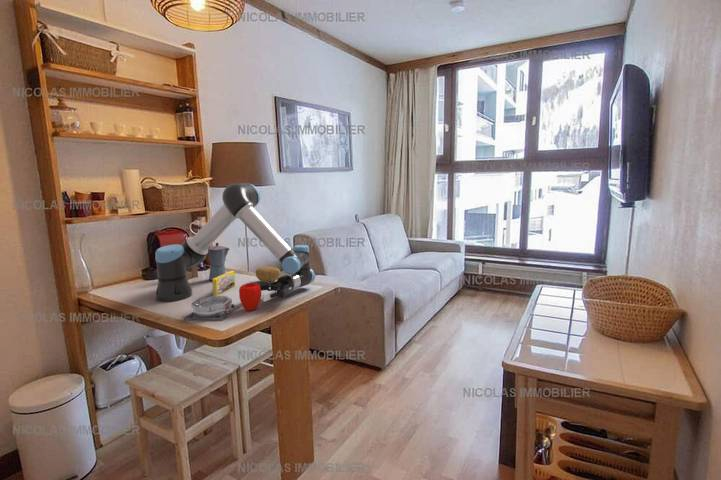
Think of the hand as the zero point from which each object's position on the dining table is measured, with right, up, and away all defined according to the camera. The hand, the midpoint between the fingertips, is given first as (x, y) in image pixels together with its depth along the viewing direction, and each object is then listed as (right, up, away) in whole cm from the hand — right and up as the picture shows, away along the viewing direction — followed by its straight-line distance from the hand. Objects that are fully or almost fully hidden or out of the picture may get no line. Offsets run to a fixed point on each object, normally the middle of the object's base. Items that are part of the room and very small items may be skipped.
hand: (251, 295), depth 151 cm
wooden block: (-51, +1, +53) cm, 74 cm away
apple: (0, -6, +1) cm, 6 cm away
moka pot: (-33, +1, +50) cm, 60 cm away
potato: (-4, +1, +42) cm, 42 cm away
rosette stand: (-15, -7, -3) cm, 16 cm away
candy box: (-21, -2, +28) cm, 35 cm away
